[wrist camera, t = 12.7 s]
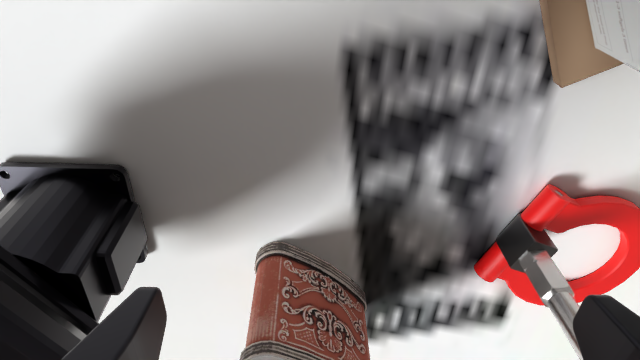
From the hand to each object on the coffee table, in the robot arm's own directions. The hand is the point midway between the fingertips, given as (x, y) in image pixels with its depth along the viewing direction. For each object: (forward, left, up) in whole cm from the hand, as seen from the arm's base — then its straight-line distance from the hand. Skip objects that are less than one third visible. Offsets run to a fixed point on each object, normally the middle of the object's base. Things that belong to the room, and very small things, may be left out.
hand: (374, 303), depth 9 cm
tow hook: (+14, -10, -13) cm, 22 cm away
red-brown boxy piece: (-1, -13, -13) cm, 19 cm away
